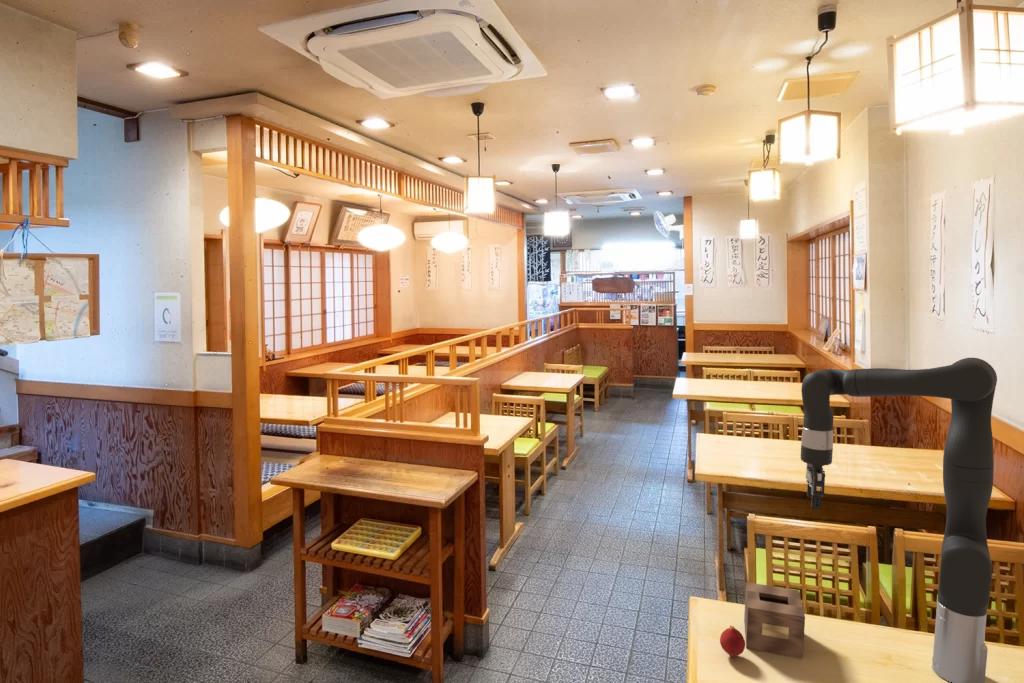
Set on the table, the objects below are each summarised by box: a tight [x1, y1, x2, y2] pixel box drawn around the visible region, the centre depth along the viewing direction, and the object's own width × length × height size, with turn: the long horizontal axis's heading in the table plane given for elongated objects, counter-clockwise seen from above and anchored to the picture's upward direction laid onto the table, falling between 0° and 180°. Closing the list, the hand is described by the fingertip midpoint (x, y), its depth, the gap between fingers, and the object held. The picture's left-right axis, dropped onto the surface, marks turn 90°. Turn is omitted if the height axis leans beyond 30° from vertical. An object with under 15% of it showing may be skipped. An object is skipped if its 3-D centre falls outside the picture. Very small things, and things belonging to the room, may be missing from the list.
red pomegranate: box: [719, 625, 746, 658], centre depth 146 cm, size 6×6×8 cm
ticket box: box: [743, 581, 806, 660], centre depth 153 cm, size 13×13×11 cm
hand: (813, 503), depth 159 cm, fingers open, 8 cm apart
